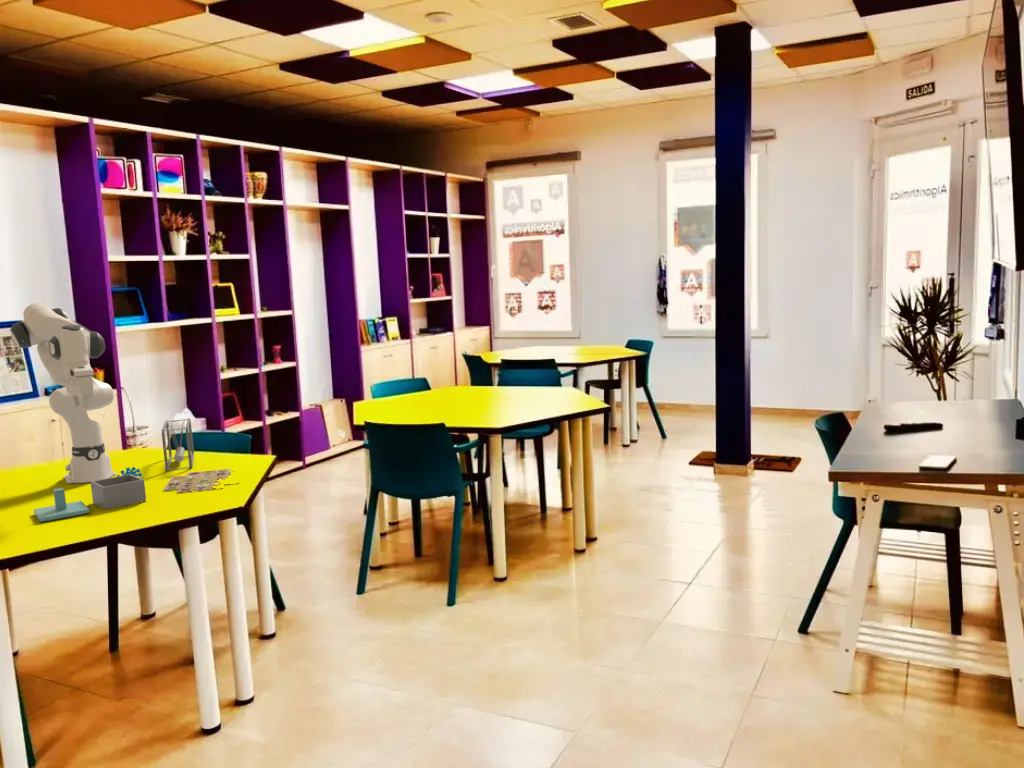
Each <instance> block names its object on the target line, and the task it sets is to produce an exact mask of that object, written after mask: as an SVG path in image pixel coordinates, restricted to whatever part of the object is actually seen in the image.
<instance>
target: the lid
mask: <svg viewBox="0 0 1024 768" xmlns="http://www.w3.org/2000/svg"><path fill="white" fill-rule="evenodd" d="M53 500H54V505H51V506H44V507H40V508H34V509H33V513H34V515H35V516H36V518H37V520H38V521H39V522H45V521H46V522H50V520H51V521H55V519H56V520H61V518H62V519H66V517H67V518H72V517H77V515H78V516H83V515H84V514H88V513H90V509H89V507H87V505H86V504H85V503H84V502H83V501H82V500H79V501H78V500H77V501H73V502H68V503H66V492H65V488H64V487H59V488H54V489H53Z"/></svg>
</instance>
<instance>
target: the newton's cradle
mask: <svg viewBox="0 0 1024 768" xmlns="http://www.w3.org/2000/svg"><path fill="white" fill-rule="evenodd" d="M191 420H192V419H191V418H190V417H188V418H186V419H175V420H167V419H166V420H165V421H164V423H163V426H162V429H161V440H162V449H163V458H164V460H163V461H164V468H165V472H169V471H173V470H181V469H193V467H194V458H195V449H194V440H193V429H192V421H191ZM185 421H186V425H185ZM181 422H182V423H181ZM174 424H176V425H174ZM177 425H180V426H177ZM184 425H185V427H184ZM179 430H180V441H179V442H178V439H177V436H176V433H175V431H179ZM183 430H185V437H186V445H187V446H186V447H187V455H186V456H185V453H186V449H185V448H184V447H183V446H182V441H183V433H184V432H183ZM165 432H166V433H165ZM166 436H167V437H166ZM171 438H172V441H173V443H174V447H175V452H174V453H175V454H174V456H173V455H172V453H173V452H172V444H171ZM166 439H167V444H166ZM167 448H168V453H167ZM168 456H169V457H168ZM184 458H188V466H187V467H185V466H184V467H176V468H170V467H171V463H172V459H174V461H175V462H176V463H182V461H184Z"/></svg>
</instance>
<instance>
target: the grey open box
mask: <svg viewBox="0 0 1024 768" xmlns="http://www.w3.org/2000/svg"><path fill="white" fill-rule="evenodd" d="M141 478H142V477H139V476H137V477H136V476H134V475H132V474H129V475H123V476H122V475H120V476H118V477H117V476H114V477H113V476H112V477H109V478H107V479H102V480H97V481H91V482H90V491H91V496H92V503H93V504H94V505H95V504H96V505H95V506H97V505H98V506H97V507H99V506H100V508H101V507H102V508H101V509H103V510H104V509H108V510H111V509H110V508H112V509H115V508H114V507H117V508H120V507H119V506H122V507H125V506H124V505H126V506H129V505H128V504H131V505H134V504H133V503H136V504H138V503H137V502H141V501H145V500H146V501H147V496H146V486H145V478H143V479H141ZM146 501H145V502H146ZM141 503H142V502H141Z"/></svg>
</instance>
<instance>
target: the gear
mask: <svg viewBox="0 0 1024 768" xmlns="http://www.w3.org/2000/svg"><path fill="white" fill-rule="evenodd" d="M120 473H121V475H120V474H116V477H118V476H123V475H129V474H132V475H134V476H136V477H139V478H141V479H144V478H143V477H142V476H143V473H142V472H141V470H140V469H139V468H136V467H135V466H132V467H131V468H130V467H126V468H125V471H124V470H120Z"/></svg>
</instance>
